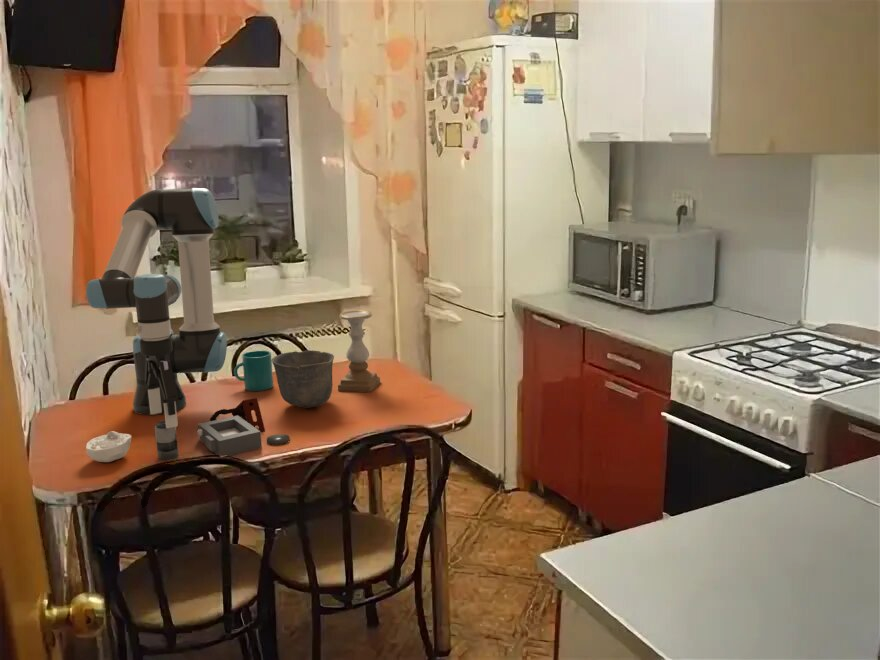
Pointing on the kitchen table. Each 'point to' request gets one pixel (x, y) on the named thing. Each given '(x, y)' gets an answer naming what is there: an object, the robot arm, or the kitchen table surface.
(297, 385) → the bowl
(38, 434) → the kitchen table surface
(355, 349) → the candle holder
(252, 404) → the bracket
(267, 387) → the cup
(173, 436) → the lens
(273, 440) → the lens cap
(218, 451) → the grey square tray
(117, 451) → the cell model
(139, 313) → the robot arm
